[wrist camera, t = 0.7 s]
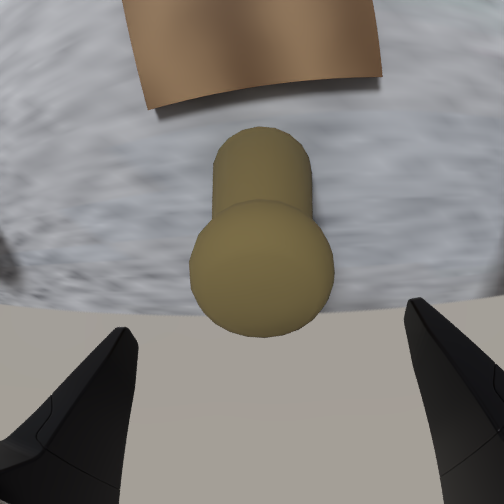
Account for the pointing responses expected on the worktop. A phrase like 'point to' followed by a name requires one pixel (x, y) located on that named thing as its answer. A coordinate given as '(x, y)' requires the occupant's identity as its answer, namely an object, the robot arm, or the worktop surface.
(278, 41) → the walnut coaster board
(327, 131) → the worktop surface
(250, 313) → the cork
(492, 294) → the worktop surface
